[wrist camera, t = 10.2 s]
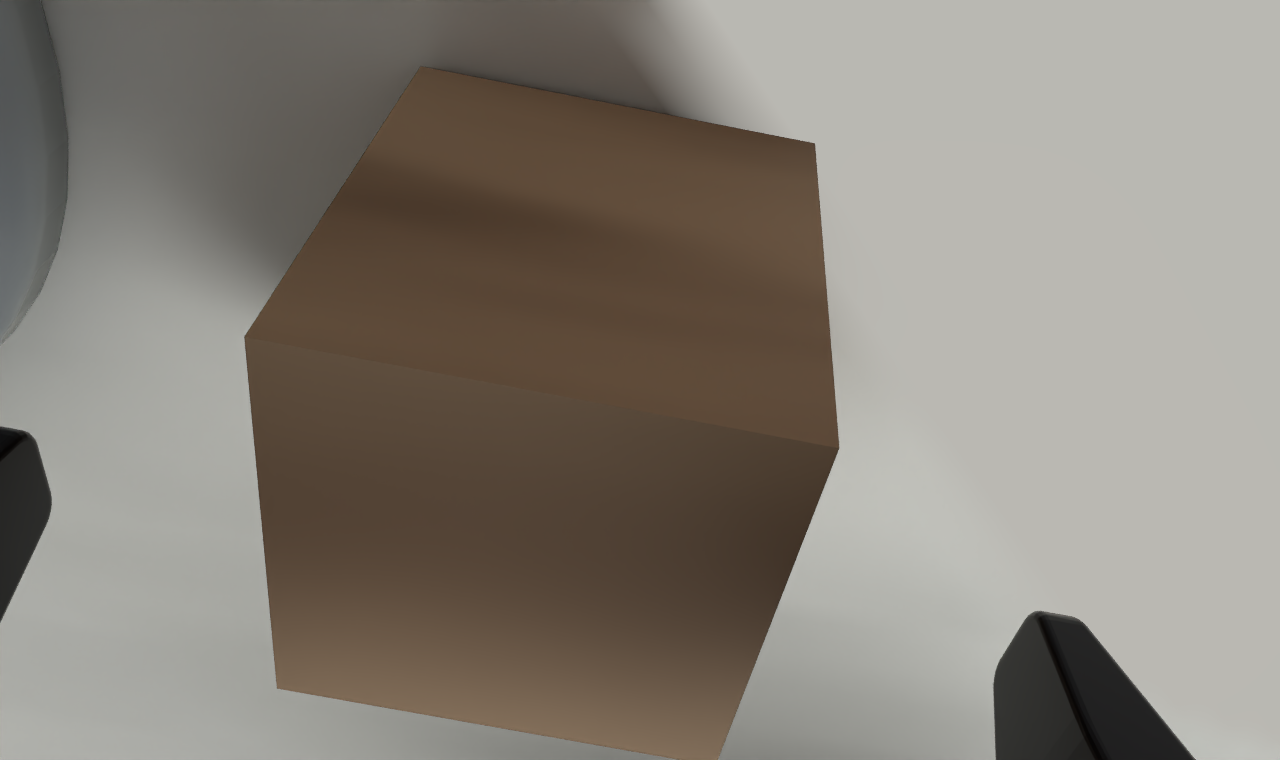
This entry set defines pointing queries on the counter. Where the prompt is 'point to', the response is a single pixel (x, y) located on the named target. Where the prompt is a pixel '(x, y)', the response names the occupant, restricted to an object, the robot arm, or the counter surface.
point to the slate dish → (29, 158)
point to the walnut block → (545, 417)
